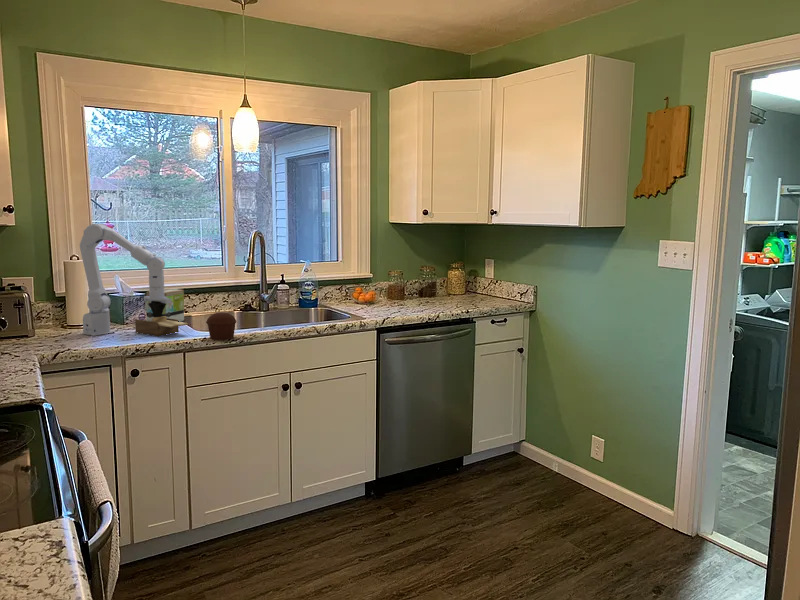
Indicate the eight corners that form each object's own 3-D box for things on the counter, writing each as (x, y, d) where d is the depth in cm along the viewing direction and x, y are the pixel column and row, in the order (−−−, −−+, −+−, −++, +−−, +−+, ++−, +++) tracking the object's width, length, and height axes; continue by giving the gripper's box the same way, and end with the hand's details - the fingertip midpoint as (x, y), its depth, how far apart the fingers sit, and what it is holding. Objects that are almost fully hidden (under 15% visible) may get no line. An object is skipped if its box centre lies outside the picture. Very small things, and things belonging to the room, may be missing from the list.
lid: (171, 327, 241) (170, 321, 240) (148, 323, 248) (147, 318, 247) (188, 324, 248) (188, 318, 247) (165, 321, 255) (165, 315, 255)
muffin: (233, 334, 251) (232, 310, 250) (240, 339, 242) (239, 314, 241) (203, 336, 246) (202, 311, 244) (209, 341, 236) (208, 315, 235)
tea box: (166, 325, 270) (165, 292, 268) (146, 324, 272) (144, 291, 270) (185, 320, 284) (184, 288, 282) (165, 319, 286) (164, 288, 284)
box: (157, 336, 244) (157, 322, 243) (135, 332, 251) (135, 319, 251) (178, 332, 253) (178, 319, 252) (156, 329, 260) (156, 316, 259)
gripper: (176, 287, 250) (177, 320, 251) (153, 284, 257) (154, 316, 259) (162, 288, 244) (163, 322, 245) (138, 286, 251) (140, 318, 253)
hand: (157, 319), depth 252 cm, fingers closed
